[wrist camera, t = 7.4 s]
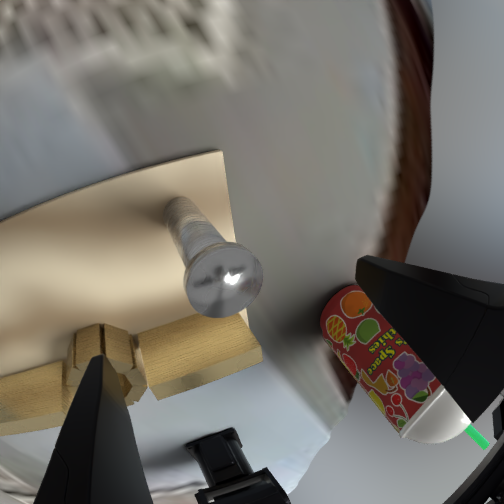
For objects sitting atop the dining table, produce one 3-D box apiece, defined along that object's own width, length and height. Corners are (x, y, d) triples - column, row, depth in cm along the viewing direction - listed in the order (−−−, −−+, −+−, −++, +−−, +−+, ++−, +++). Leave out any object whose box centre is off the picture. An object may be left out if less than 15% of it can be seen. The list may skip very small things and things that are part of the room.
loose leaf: (72, 373, 17) (74, 422, 13) (2, 392, 15) (-3, 436, 11) (62, 360, 16) (61, 411, 13) (-9, 380, 14) (-16, 425, 10)
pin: (207, 229, 17) (265, 302, 11) (162, 242, 16) (197, 328, 10) (199, 184, 16) (259, 238, 10) (150, 198, 15) (178, 264, 9)
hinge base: (237, 333, 22) (265, 377, 18) (89, 382, 18) (94, 433, 15) (227, 279, 20) (258, 324, 16) (56, 336, 16) (51, 391, 12)
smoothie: (365, 255, 26) (538, 388, 10) (376, 304, 31) (503, 416, 15) (295, 312, 25) (457, 488, 9) (320, 353, 30) (439, 486, 14)
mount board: (249, 343, 24) (252, 347, 24) (16, 412, 17) (16, 417, 16) (218, 149, 16) (222, 150, 16) (-87, 271, 9) (-91, 275, 8)
